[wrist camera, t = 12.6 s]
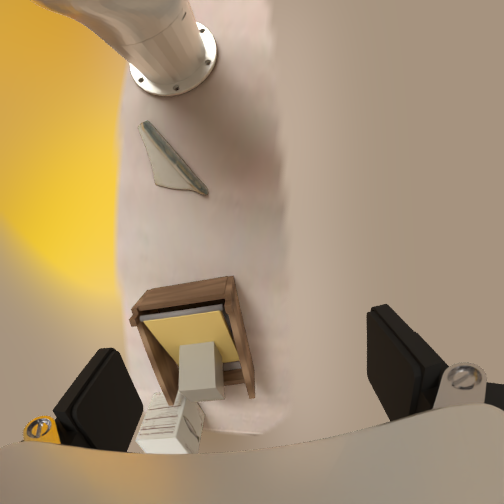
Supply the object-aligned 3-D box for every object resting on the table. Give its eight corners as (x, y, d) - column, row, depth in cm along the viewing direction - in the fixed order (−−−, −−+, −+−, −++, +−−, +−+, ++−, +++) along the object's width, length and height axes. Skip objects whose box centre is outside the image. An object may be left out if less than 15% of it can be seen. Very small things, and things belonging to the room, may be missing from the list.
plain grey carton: (179, 345, 41) (178, 390, 36) (213, 341, 41) (215, 387, 36) (190, 360, 45) (190, 402, 40) (222, 356, 45) (224, 399, 40)
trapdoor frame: (146, 289, 44) (126, 313, 36) (233, 275, 43) (229, 298, 35) (177, 379, 48) (166, 412, 40) (254, 370, 47) (255, 404, 39)
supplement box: (206, 414, 50) (197, 466, 38) (170, 419, 50) (156, 468, 38) (190, 385, 48) (176, 437, 36) (153, 391, 49) (133, 440, 36)
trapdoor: (140, 313, 37) (139, 320, 36) (221, 301, 37) (221, 308, 36) (177, 362, 47) (177, 367, 46) (242, 354, 47) (243, 360, 46)
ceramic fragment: (210, 191, 41) (206, 192, 37) (182, 215, 42) (175, 219, 38) (150, 118, 39) (140, 112, 35) (123, 142, 39) (112, 139, 36)
